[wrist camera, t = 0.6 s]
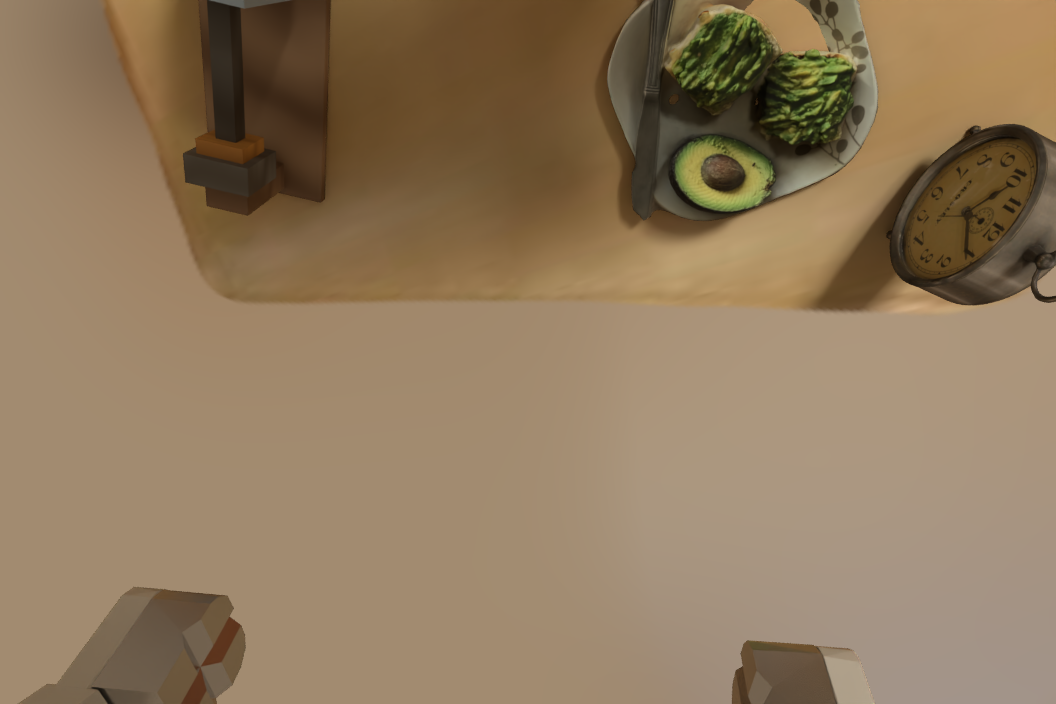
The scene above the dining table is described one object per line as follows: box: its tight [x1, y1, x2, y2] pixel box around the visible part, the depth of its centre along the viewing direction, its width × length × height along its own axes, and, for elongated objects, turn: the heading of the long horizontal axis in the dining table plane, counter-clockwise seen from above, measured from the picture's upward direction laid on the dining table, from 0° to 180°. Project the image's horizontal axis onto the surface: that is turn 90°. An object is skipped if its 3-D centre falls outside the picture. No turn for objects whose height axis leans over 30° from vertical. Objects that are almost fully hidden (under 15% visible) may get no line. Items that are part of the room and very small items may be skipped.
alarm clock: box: [887, 124, 1056, 305], centre depth 40 cm, size 11×5×16 cm, turn 157°
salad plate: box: [607, 0, 878, 221], centre depth 43 cm, size 19×18×5 cm
